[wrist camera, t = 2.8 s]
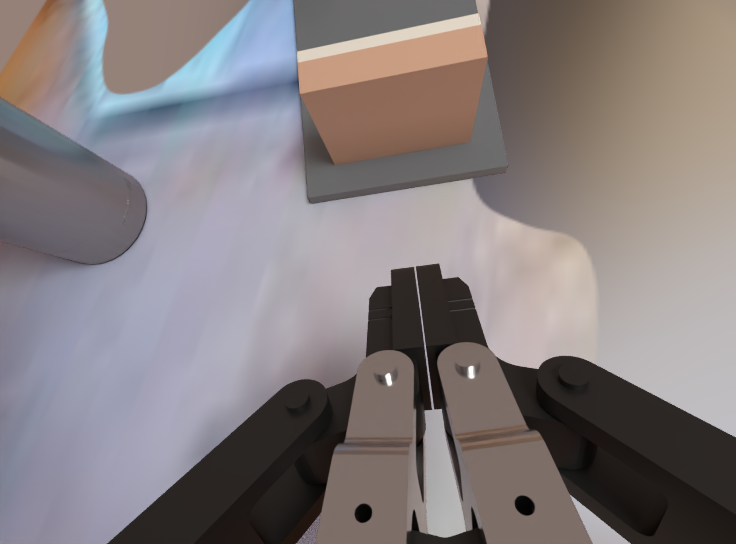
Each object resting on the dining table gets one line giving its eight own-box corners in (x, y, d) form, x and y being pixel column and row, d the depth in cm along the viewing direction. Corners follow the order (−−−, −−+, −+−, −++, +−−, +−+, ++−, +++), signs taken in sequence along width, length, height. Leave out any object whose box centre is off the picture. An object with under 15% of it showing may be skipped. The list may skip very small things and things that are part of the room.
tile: (335, 165, 32) (299, 93, 23) (332, 132, 32) (296, 51, 24) (470, 142, 30) (487, 56, 21) (464, 108, 31) (478, 12, 22)
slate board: (312, 203, 32) (307, 197, 31) (296, -6, 37) (292, -18, 36) (505, 172, 30) (508, 165, 29) (462, -45, 35) (463, -58, 34)
